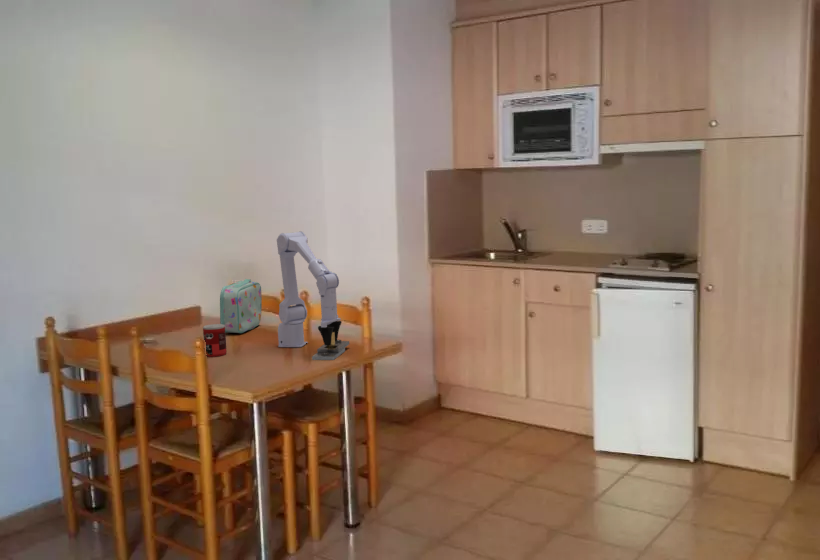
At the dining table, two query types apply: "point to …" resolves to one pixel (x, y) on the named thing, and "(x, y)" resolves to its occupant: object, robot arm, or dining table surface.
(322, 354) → the chain end lower
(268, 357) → the dining table surface
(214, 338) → the canned food
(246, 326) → the lunch box
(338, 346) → the chain end upper
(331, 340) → the brass pin
